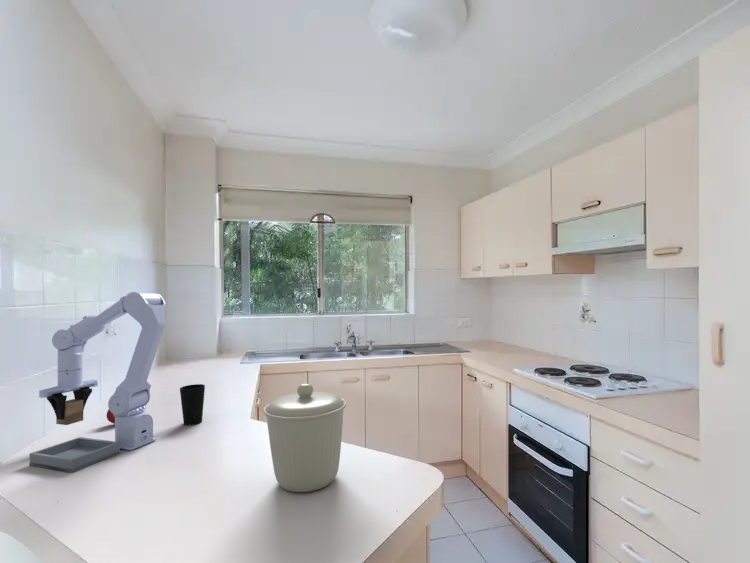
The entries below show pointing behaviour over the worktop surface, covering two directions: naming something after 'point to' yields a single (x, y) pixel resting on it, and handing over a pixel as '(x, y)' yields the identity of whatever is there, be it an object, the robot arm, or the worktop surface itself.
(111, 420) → the pomegranate
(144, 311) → the robot arm
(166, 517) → the worktop surface
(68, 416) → the block
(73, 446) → the tray
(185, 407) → the cup
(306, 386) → the canister
